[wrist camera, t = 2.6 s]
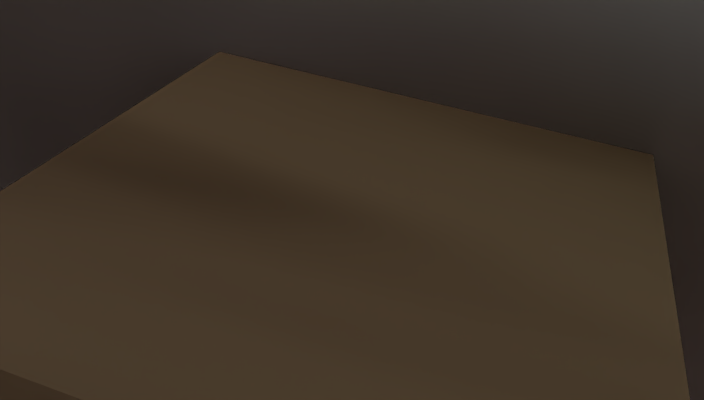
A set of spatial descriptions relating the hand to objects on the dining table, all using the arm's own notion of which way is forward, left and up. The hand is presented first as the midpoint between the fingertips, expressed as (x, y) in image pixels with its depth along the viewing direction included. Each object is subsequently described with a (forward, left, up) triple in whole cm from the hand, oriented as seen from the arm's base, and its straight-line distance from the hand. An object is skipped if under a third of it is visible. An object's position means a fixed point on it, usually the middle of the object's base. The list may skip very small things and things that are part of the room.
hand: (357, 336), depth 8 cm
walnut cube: (0, 0, -1) cm, 1 cm away
